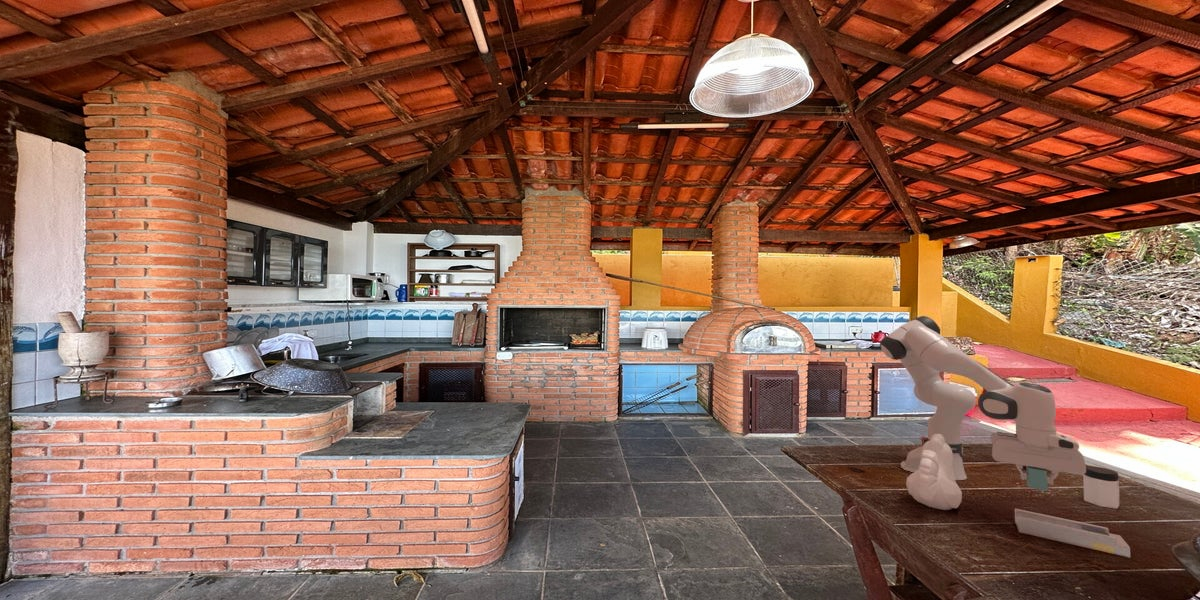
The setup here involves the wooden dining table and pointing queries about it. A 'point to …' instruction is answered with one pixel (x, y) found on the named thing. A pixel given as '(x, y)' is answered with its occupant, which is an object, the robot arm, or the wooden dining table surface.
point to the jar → (1101, 487)
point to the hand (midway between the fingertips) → (1036, 481)
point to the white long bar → (1071, 532)
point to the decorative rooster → (935, 476)
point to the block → (1037, 478)
